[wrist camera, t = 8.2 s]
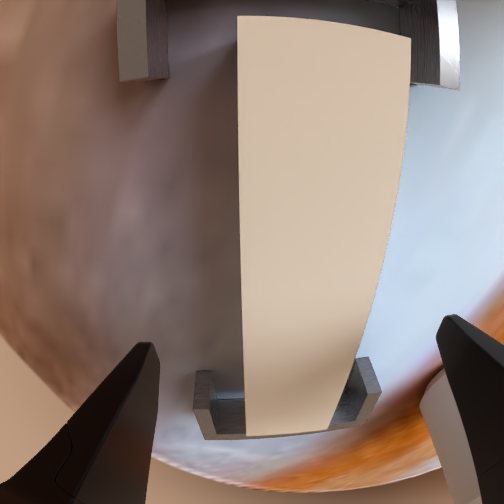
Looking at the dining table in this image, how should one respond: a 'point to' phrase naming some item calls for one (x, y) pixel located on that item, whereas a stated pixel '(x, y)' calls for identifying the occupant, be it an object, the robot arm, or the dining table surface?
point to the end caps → (422, 73)
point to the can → (450, 440)
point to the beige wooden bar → (313, 205)
